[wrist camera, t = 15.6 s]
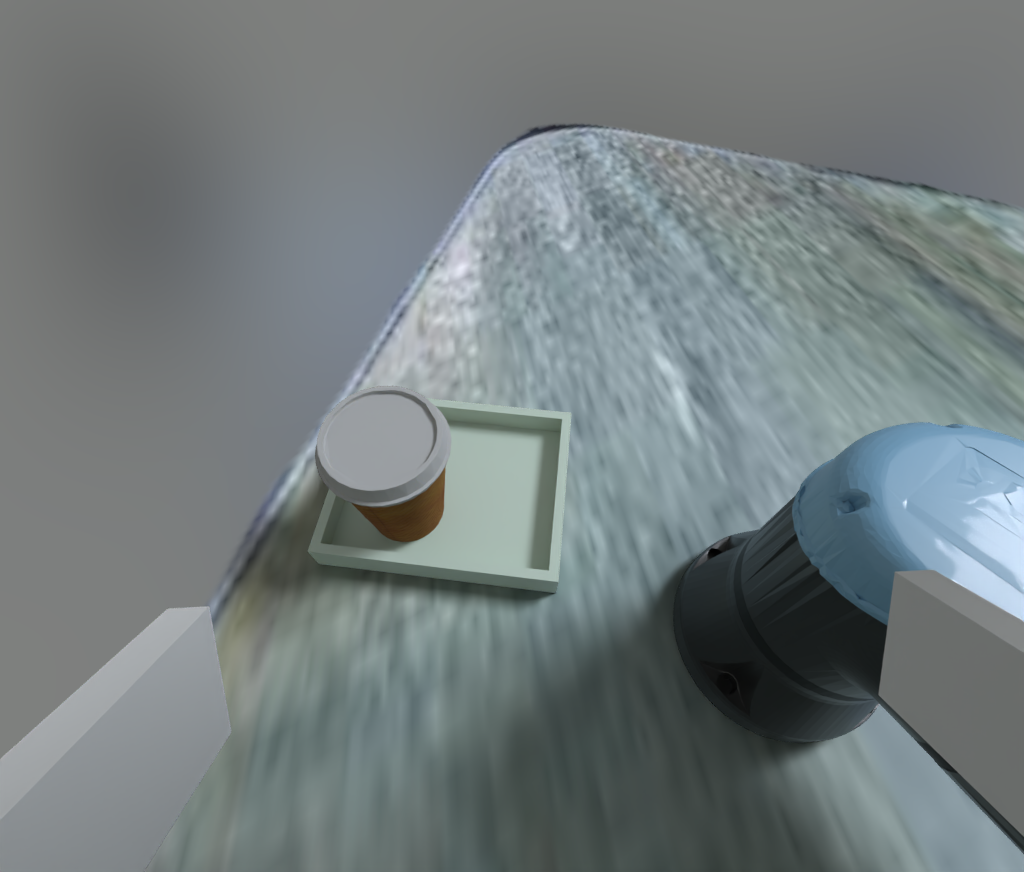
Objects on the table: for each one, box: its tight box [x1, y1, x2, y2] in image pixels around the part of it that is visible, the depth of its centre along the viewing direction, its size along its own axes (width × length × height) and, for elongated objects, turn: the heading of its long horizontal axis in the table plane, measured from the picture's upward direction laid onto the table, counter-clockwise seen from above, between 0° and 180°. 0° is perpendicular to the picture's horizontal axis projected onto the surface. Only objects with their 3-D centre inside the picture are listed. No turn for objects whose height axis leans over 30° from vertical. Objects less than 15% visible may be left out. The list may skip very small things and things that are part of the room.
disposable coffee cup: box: [315, 386, 451, 542], centre depth 42 cm, size 10×10×12 cm
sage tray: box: [307, 398, 571, 593], centre depth 47 cm, size 20×16×3 cm
